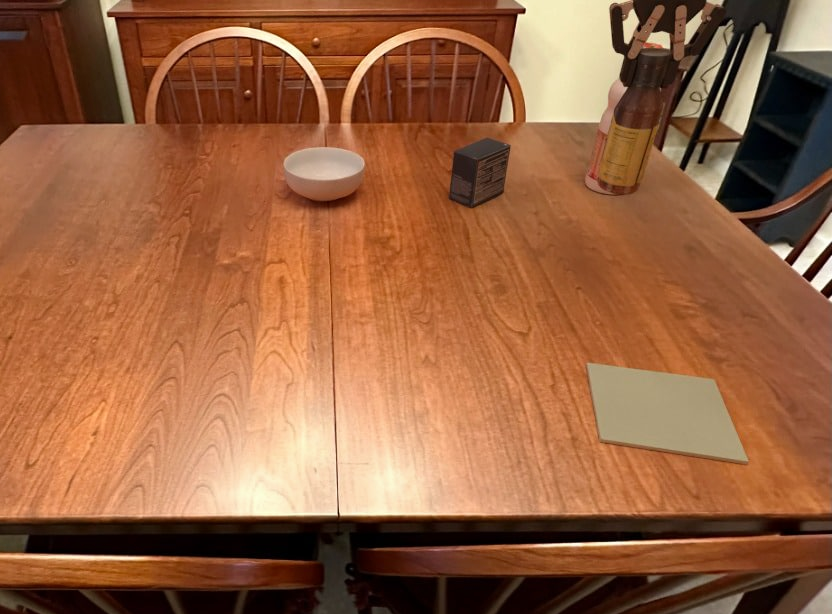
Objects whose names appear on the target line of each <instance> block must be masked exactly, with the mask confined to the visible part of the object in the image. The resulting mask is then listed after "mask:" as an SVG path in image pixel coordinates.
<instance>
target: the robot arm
mask: <svg viewBox="0 0 832 614" xmlns="http://www.w3.org/2000/svg"><path fill="white" fill-rule="evenodd" d="M608 10H609V11H608V12H609V22H610V35H611V46H612V48H613V50H614V52H615V53H616V54H619V55H622V56H623V59H622V63H621V67H620V71H619V75H618V78H620V81H621V82H622V84H623V86H624V87H630V85H631V82H632V78H633V74H634V71H635V67H636V63H637V59H636V57H637V55H638V53H639V52H640V50H641V48H642V46H643V44H644V43H645V42H648V39H649V38H650V36H651V34H656V33H661V32H663V33H667V34H668V36H669V51H670V53H671V55H670V59H669V62H668V64H667V65H666V67H665V70H664V74H663V77H662V83H661V85H660V88H661V90H662V89H663V90H667V89H668V87H669V85H673V83H675V80H676V76H677V74H678V71H679V67H680V64H681V62H682V61H683V59H685V58H687V57H691V56H692V57H697V56H698V55H699V54H700V53H701V52H702V50H703V49H704V47H705V46H706V44H707V43H708V41H709V40H710V39H711V37H712V35H713V34H714V33H715V31H716V29H717V28H718V27H719V25H720V24H721V22H722V21H723V20H724V18H725V17H726V15H727V9H726V8H725V7H724V6H723V5H721V4H718V3H716V4H715V3H712V2H709V1H708V0H627V1H624V2H620V3H618V2H613V3H611V4H610V5H609V8H608ZM632 10H633V12H634V14H635V15H636V18H637V20H638V22H637V25H636V27H635V29H634V30H633V33H632V36H631V38H630V40H629V42H628V43H627V42H625V32H624V31H625V30H624V22H625V21H627V20H628V18H629V15H630V12H631V11H632ZM700 12H701V15H700V20H701V23H700V24H699V25H698V27H697V29H696V30H695V32H694V33H693V34H692V36H691V37H690V39H689V41H688V42H687V43H685V42H686V36H687V35H686V33H687V31H686V30H687V25H688V23H690V22H691V21H692V20H693V19H694V18H695V17H696V16H697V15H698V14H700Z"/></svg>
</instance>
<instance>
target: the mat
mask: <svg viewBox="0 0 832 614" xmlns="http://www.w3.org/2000/svg"><path fill="white" fill-rule="evenodd" d="M585 368H586V374H587V379H588V385H589V390H590V396H591V402H592V405H593V406H592V407H593V414H594V419H595V423H596V429H597V435H598V441H599V443H603V444H611V445H617V446H621V447H622V446H623V447H629V448H636V449H642V450H649V451H655V452H662V453H668V454H674V455H682V456H688V457H695V458H700V459H707V460H708V459H709V460H712V461H713V460H714V461H720V462H728V463H734V464H740V465H749V462H750V460H749V458H748V455H747V453H746V451H745V449H744V446H743V444H742V441H741V439H740V436H739V434H738V432H737V430H736V427H735V425H734V422H733V420H732V418H731V415H730V412H729V411H728V408H727V406H726V403H725V401H724V399H723V396H722V394H721V391H720V388H719V387H718V383H717V382H716V379H715V378H710V377H702V376H694V375H686V374H679V373H671V372H665V371H664V372H662V371H655V370H648V369H642V368H641V369H640V368H632V367H624V366H617V365H609V364H602V363H595V362H594V363H593V362H586V364H585Z"/></svg>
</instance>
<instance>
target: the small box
mask: <svg viewBox="0 0 832 614" xmlns="http://www.w3.org/2000/svg"><path fill="white" fill-rule="evenodd" d="M511 147H512V145H511V144H509V143H506V142H502V141H499V140H496V139H493V138H491V137H485V138H482V139H479V140H477V141H475V142H473V143H470V144H468V145H465V146H462V147H460V148H457V149H455V150H453V158H452V166H451V175H450V185H449V186H450V187H449V193H448V199H449V200H451V201H454V202H456V203H458V204H460V205H463V206H465V207H468V208H470V209H473V208H475V207H477V206H479V205H481V204H483V203H485V202H488V201H489V200H491V199H493V198H496V197H498V196H500V195H502V194H504V190H505V183H506V177H507V171H508V166H509V165H508V164H509V158H510V152H511Z"/></svg>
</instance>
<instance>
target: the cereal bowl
mask: <svg viewBox="0 0 832 614" xmlns="http://www.w3.org/2000/svg"><path fill="white" fill-rule="evenodd" d="M282 165H283V167H282V168H283V169H282V171H283V176H284V181H285V182H286V184H287V185H288V187H289V188H290V189H291V190H292V191H293V192H294V193H296V194H297V195H299V196H301V197H304V198H308V200H312V201H314V202H315V201H316V202H323V203H324V202H332V201H335V200H338V199H340V198H341V199H342V198H344V197H347V196H350V195H352V194H353V193H354V192H355V191H356V190H357V189H359V187H360V186H361V184H362V183H363V181H364V178H365V170H366V163H365V160H364V158H363V157H362V156H361V155H360V154H358V153H356V152H354V151H353V150H348V149H344V148H338V147H332V146H331V147H330V146H318V147H317V146H316V147H309V148H303V149H300V150H296V151H294V152H292V153H289V154H288V155H287V156H286V157H285V158H284V160H283V164H282Z"/></svg>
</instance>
